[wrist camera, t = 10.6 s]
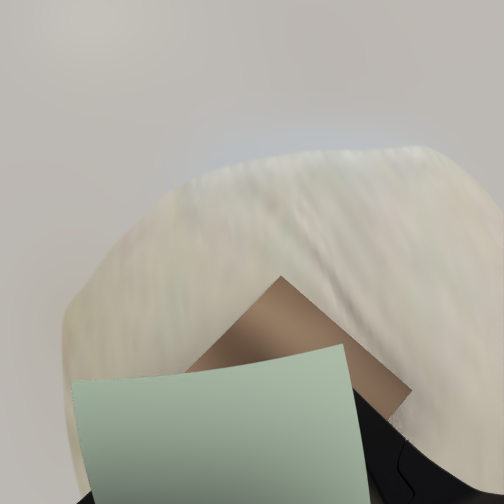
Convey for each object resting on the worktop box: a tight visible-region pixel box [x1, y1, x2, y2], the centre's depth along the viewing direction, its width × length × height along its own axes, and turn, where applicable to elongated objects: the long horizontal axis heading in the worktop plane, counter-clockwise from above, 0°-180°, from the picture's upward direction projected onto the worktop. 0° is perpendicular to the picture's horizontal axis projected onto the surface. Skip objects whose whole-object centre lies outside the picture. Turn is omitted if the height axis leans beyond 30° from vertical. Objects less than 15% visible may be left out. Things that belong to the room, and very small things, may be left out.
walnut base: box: [185, 276, 412, 420], centre depth 19 cm, size 12×12×3 cm
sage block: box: [71, 344, 370, 504], centre depth 9 cm, size 4×4×12 cm
